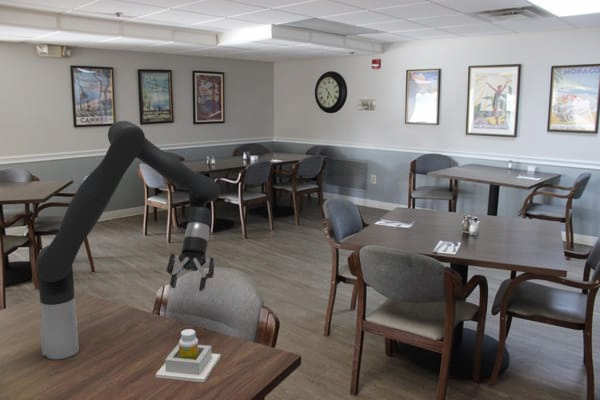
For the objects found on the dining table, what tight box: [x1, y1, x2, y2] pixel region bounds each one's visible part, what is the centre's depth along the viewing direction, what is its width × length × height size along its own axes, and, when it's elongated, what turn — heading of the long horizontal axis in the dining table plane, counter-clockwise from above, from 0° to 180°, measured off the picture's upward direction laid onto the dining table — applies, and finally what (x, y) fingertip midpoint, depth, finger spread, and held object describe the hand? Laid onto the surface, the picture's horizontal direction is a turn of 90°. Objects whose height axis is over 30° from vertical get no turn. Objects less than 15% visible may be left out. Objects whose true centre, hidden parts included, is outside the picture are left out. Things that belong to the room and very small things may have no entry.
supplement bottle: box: [178, 328, 199, 360], centre depth 145 cm, size 5×5×10 cm
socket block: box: [155, 343, 221, 383], centre depth 146 cm, size 14×14×4 cm
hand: (187, 289), depth 156 cm, fingers open, 8 cm apart
